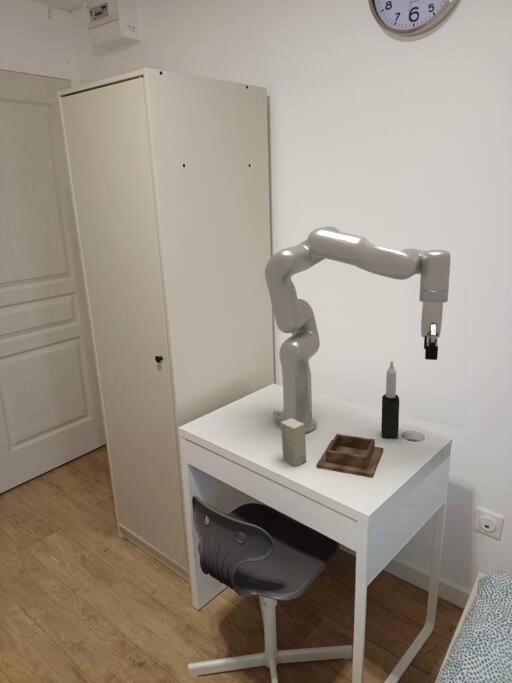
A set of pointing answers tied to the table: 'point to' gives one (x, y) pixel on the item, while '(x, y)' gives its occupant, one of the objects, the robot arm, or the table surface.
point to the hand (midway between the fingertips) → (430, 354)
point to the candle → (390, 406)
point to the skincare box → (293, 441)
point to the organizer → (351, 455)
